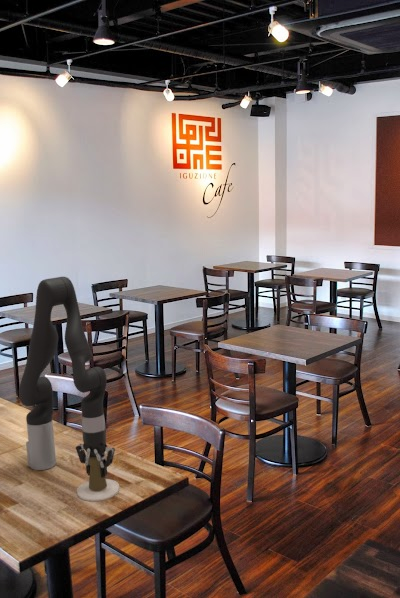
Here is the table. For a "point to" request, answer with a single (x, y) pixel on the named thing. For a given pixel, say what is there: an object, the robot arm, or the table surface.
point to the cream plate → (98, 495)
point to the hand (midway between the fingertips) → (97, 475)
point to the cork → (96, 475)
